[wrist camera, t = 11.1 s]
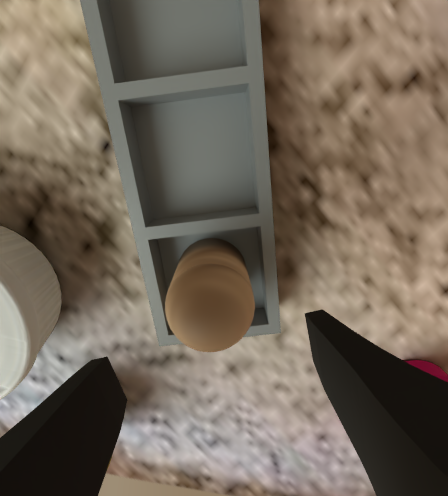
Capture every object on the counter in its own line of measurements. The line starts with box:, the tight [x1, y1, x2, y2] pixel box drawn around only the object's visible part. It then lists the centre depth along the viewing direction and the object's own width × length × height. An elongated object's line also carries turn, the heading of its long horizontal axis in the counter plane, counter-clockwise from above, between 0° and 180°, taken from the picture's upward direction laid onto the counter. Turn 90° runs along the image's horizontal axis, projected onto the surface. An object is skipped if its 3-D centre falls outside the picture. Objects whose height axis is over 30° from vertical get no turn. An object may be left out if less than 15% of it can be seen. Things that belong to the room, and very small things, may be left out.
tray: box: [80, 0, 281, 346], centre depth 15 cm, size 8×21×3 cm, turn 7°
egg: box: [165, 238, 255, 352], centre depth 15 cm, size 4×4×7 cm
